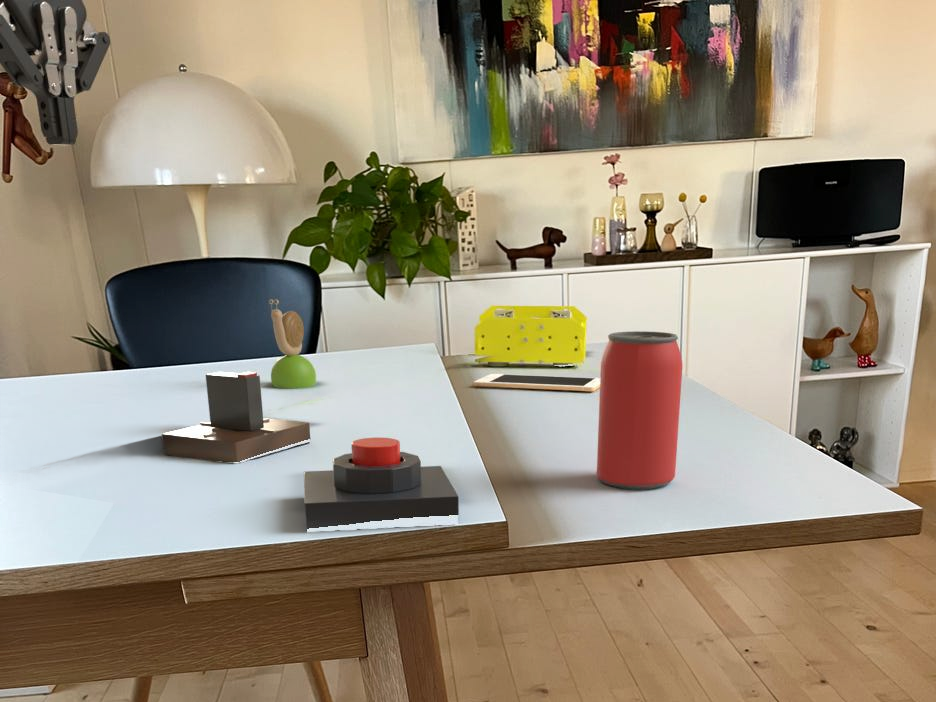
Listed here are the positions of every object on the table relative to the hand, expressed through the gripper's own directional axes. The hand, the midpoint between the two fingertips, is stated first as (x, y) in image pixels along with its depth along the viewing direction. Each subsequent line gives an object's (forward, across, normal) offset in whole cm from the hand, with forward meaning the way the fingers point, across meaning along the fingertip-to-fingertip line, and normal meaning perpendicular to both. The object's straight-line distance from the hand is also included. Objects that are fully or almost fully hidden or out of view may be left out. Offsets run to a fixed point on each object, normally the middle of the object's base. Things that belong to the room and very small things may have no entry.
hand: (61, 144), depth 93 cm
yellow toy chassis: (+27, -71, +12) cm, 77 cm away
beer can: (+27, -10, +52) cm, 60 cm away
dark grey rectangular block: (+25, -5, +13) cm, 29 cm away
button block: (+27, +8, +38) cm, 47 cm away
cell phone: (+27, -54, +22) cm, 64 cm away
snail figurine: (+27, -30, 0) cm, 40 cm away
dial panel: (+27, -5, +13) cm, 30 cm away
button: (+23, +8, +38) cm, 45 cm away
